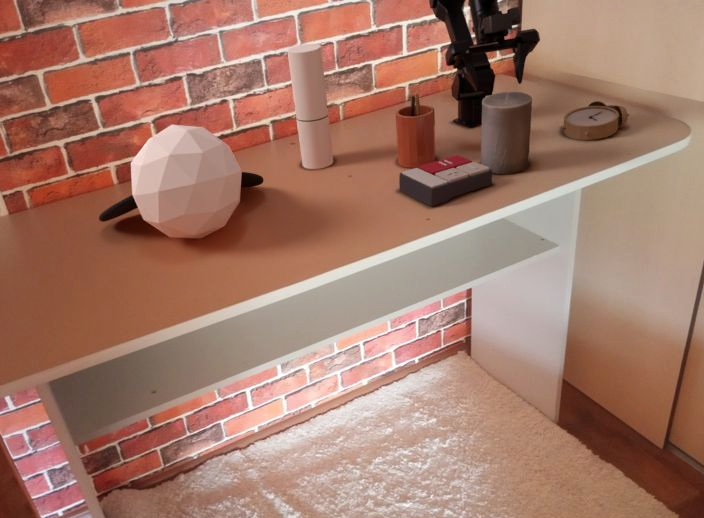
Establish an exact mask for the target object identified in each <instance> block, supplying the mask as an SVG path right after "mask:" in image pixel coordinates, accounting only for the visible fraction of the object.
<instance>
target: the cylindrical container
mask: <svg viewBox="0 0 704 518" xmlns="http://www.w3.org/2000/svg"><path fill="white" fill-rule="evenodd" d="M286 51H287V60H288V68H289V74H290V81H291V91H292V97H293V102H294V103H293V104H294V112H295V120H296V126H297V127H296V128H297V134H298V141H299V150H300V156H301V157H300V158H301V165H302V167H303V168H304V169H307V170H320V169H324V168H328V167H329V166H331V165H332V164H333V163H334V153H333V146H332V145H333V144H332V135H331V125H330V117H329V116H330V115H329V108H328V97H327V89H326V79H325V71H324V69H325V68H324V60H323V50H322V45H321V44H319V43H303V44H297V45H293V46H291V47H288V48H287V50H286Z"/></svg>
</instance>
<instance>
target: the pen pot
mask: <svg viewBox="0 0 704 518" xmlns="http://www.w3.org/2000/svg"><path fill="white" fill-rule="evenodd" d="M420 111H421V115H420V116H417V110H416V104H415V109H414V116H410V112H411V105H407V106H402V107H400V108H399V109H397V110H395V128H396V130H395V131H396V149H397V162H398V164H399V165H400V167H404V168H408V169H409V168H410V169H414V168H419V166H421V165H425V164H428V163H432V162H435V161H436V120H435V108H434V107H433V106H431V105H428V104H420Z"/></svg>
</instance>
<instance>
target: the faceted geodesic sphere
mask: <svg viewBox="0 0 704 518" xmlns="http://www.w3.org/2000/svg"><path fill="white" fill-rule="evenodd" d="M130 178H131V180H130V181H131V195H128V196H127V197H125V198H123V199H121V200H119V201H118V202H116V203H114V204H112V205H111V206H109V207H108V208H106V209H105V210H104V211H102V212H101V213H100V214H99V216H98V220H99V221H100V222H102V223H103V222H108V221H111V220H114V219H117V218H119V217H122V216H124V215H126V214H128V213H130V212H133V211H134V210H136V209H138V211H139V214H140V215H141V218H142V220H143V221H145V222H146V223H147V224H150V226H152V227H154V228H155V229H157V230H158V231H159V232H161V233H163V234H164V235H166V236H167V237H169V238H176V239H177V238H179V239H202V238H204V237H207V236H208V235H210V234H212V233H214V232H216V231H218V230H220V229H221V228H223V227H225V226H226V225H227V223H228V221H229V220H230V218H231V216H232V215H233V214H234V211H235V210H236V208H238V207H237V206H239V204H240V202H241V189H245V188H246V189H247V188H253V187H257V186H258V187H259V186H260V185H262V184H263V183H264V180H265V179H264V177H263V176H261V175H260V174H258V173H253V172H246V171H242V168H241V167H240V164H239V163H238V160H237V159H236V157H235V154H234V152H233V151H232V149H231V147H230V146H229V145H228V144H227V143H226V142H225V141H223V140H221V139H220V138H219V137H218V136H217V135H215V134H213V133H212V132H211V131H210V130H208V129H207V128H206V127H204V126H195V125H181V124H170V125H169V126H167V127H166V128H164V129H162V130H160V131H159V132H158V133H156V134H155V135H153V136H152V137H150V138H148V139H147V141H146V142H145V143H144V144H143V146H142V147H141V149H140V150H139V151H138V152H137V154H136V155H135V156H134V158H133V159H132V160H131V162H130Z"/></svg>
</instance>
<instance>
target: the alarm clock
mask: <svg viewBox="0 0 704 518" xmlns="http://www.w3.org/2000/svg"><path fill="white" fill-rule="evenodd" d="M629 117H630V114H629V113H628V111H627V109H626V107H624V106H622V105H615V104H614V105H613V104H609V105H607V104H606V103H605V102H603V101H601V100H600V101H599V100H594V101H593V102H590V103H589V104H588V105H587V106H582V107H578V108H575V109H572V110H570V111H568V112H567V113H565V115H564V116H563V125H562V126H559V128H558V129H559V130H563V134H564V135H565V136H566V137H568V138H570V139H573V140H577V141H578V140H579V141H581V140H582V141H592V140H599V139H605V138H607V137H610V136H612V135H614V134H615V133H617V132H618V129H620V128H622V127H624V126H625V125H626V124H627V122H628V118H629Z"/></svg>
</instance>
